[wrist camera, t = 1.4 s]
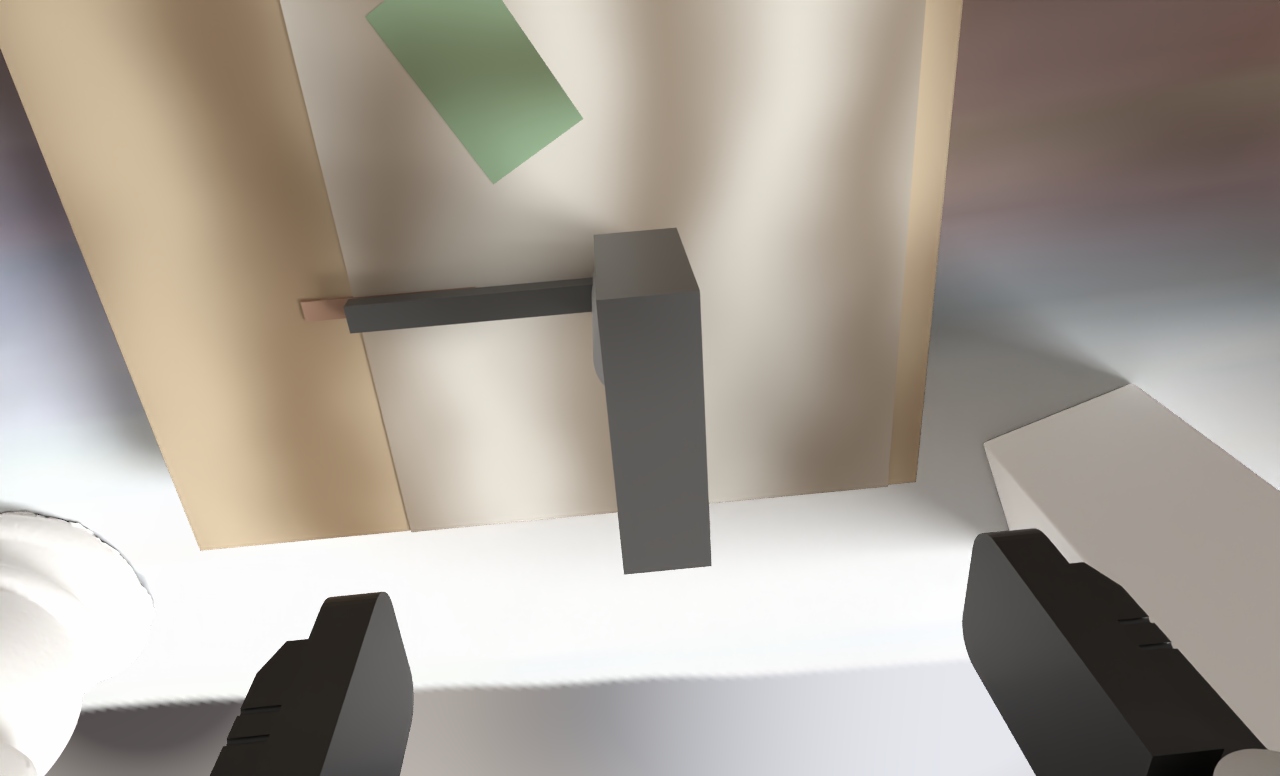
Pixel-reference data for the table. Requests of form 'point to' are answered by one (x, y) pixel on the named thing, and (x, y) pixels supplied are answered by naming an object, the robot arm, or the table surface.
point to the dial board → (493, 236)
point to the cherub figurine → (59, 632)
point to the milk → (1161, 533)
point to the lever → (615, 378)
